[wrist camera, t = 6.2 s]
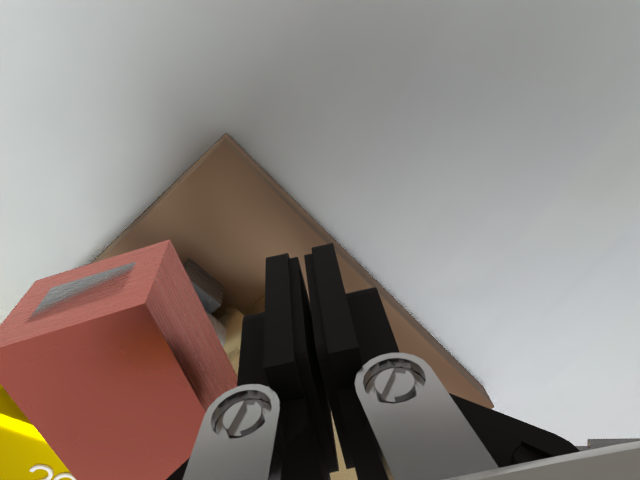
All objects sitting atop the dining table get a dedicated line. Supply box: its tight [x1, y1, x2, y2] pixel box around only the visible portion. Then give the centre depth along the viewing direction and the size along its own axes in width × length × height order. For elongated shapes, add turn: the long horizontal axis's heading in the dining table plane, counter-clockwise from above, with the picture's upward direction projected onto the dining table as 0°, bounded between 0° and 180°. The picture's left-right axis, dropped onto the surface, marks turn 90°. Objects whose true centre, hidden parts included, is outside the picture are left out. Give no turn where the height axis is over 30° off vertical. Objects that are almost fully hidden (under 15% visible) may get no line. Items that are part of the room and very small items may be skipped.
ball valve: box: [182, 258, 358, 480], centre depth 20 cm, size 7×16×10 cm, turn 42°
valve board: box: [91, 133, 494, 409], centre depth 25 cm, size 13×20×2 cm, turn 42°
